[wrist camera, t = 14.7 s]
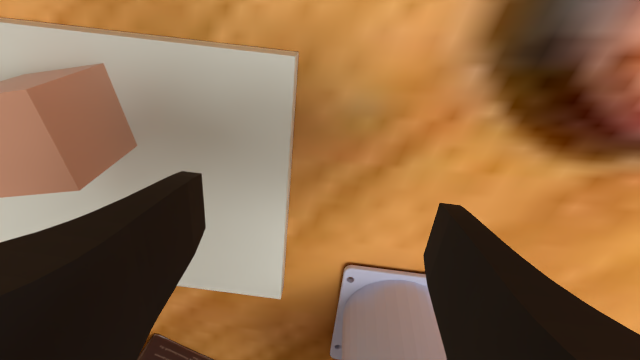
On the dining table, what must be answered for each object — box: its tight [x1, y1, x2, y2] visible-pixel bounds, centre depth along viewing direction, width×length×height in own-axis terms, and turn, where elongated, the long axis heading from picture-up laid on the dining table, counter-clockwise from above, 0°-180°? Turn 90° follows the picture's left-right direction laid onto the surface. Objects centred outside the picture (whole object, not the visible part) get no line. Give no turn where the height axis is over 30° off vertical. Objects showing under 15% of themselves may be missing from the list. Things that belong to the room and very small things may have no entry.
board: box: [0, 17, 299, 299], centre depth 20 cm, size 16×22×5 cm
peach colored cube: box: [0, 63, 137, 198], centre depth 17 cm, size 4×4×5 cm
